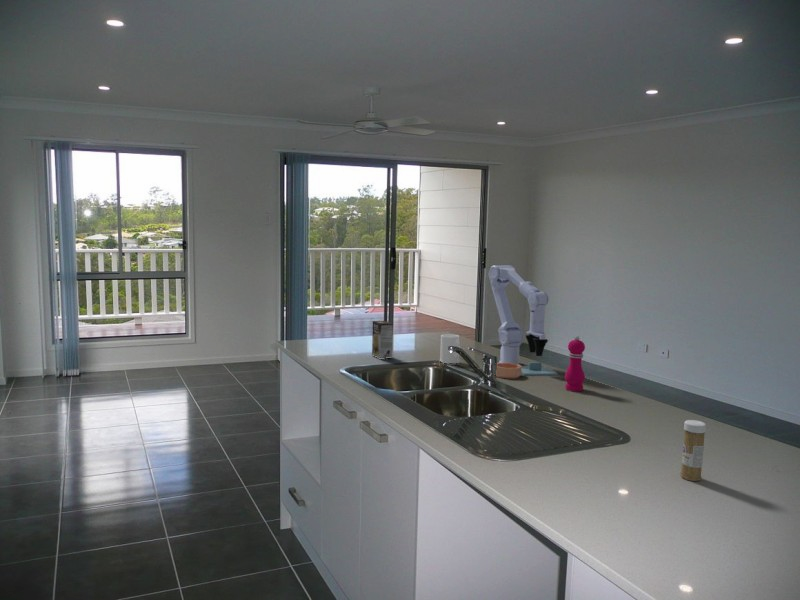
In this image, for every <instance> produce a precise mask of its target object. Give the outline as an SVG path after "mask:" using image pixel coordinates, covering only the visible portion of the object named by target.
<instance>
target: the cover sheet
mask: <svg viewBox="0 0 800 600" xmlns="http://www.w3.org/2000/svg"><path fill="white" fill-rule="evenodd" d="M521 366H522V375H524V376H523V377H529V376H528V375H559V373H558V372H556V371H554V370H553V369H551V368H549V367H548V366H546V365H542V362H541V361H536V362H535V361H530V362H529V361H528V365H521Z"/></svg>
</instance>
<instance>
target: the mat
mask: <svg viewBox="0 0 800 600" xmlns="http://www.w3.org/2000/svg"><path fill="white" fill-rule="evenodd" d="M521 376H522V377H525V376H524V375H522V374H521ZM560 376H561V375H560V374H558V375H528V376H527V377H560Z"/></svg>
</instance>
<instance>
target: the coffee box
mask: <svg viewBox="0 0 800 600" xmlns="http://www.w3.org/2000/svg"><path fill="white" fill-rule="evenodd" d="M393 330H394V323H392V322H390V321H387V320H372V339H371V340H372V343H371V348H372V349H371V353H372V354H371V356H372V355H374V356H377V357H378V358H386V357H392V358H393V338H394V336H393V335H394V334H393V333H394V331H393ZM374 356H373V357H374Z"/></svg>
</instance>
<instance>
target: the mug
mask: <svg viewBox="0 0 800 600" xmlns="http://www.w3.org/2000/svg"><path fill="white" fill-rule="evenodd" d="M448 346H457V347H459V348H461V344H460V335H459V334H452V333H443V334H441V335H440V351H439V352H440V354H439V355H440V356H439V362H440V361H441V362H444V363H458V364H460V360H459V359H460V357H459V356H460V355H459V354H458V353H456V352H452V353H450V352H449V351H448V348H447V347H448Z"/></svg>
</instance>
